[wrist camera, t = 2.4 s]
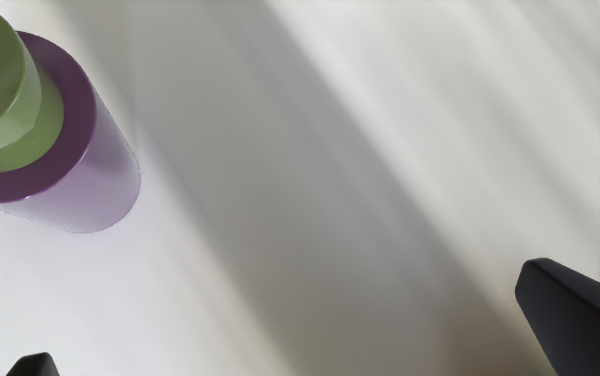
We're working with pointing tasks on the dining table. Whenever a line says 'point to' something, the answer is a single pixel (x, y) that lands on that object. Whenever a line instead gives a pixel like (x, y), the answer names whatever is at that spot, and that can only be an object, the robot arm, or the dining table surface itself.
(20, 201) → the pepper mill
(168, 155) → the dining table surface
